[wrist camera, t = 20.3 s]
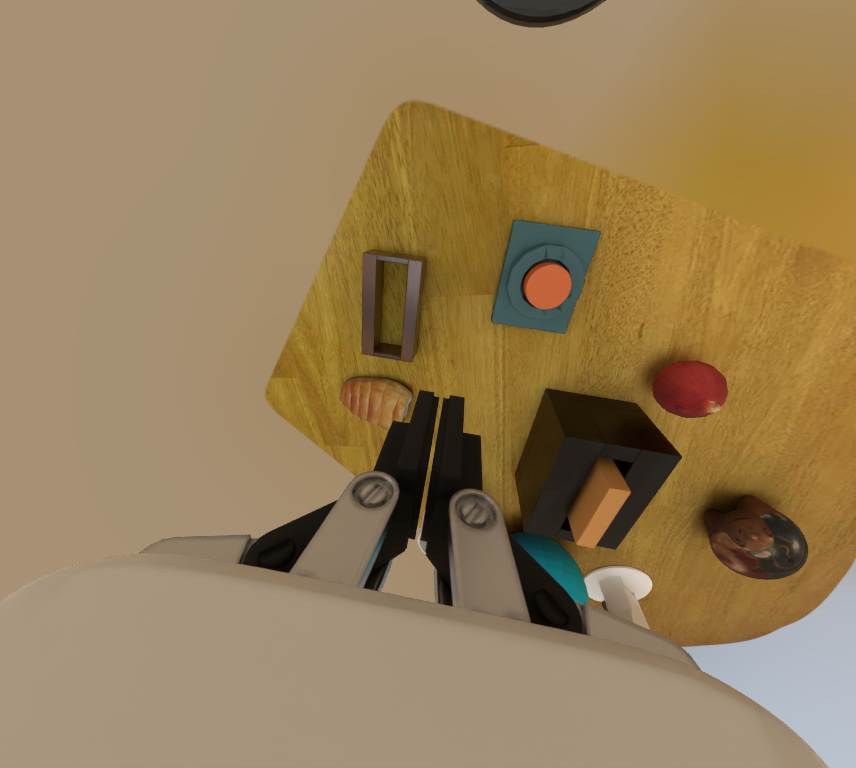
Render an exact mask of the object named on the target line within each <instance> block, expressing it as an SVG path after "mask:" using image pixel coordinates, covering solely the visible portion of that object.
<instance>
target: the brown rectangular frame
mask: <svg viewBox="0 0 856 768" xmlns="http://www.w3.org/2000/svg"><path fill="white" fill-rule="evenodd" d="M426 260H427V258H426V257H420V256H413V255H406V254H399V253H392V252H385V251H378V250H369V251H367V252H364V253H363V287H362V354H364V355H370V356H376V357H382V358H388V359H394V360H401V361H407V362H413V359H414V357H415V355H416V352H417V343H418V334H419V324H420V315H421V306H422V297H423V287H424V278H425V269H426ZM384 261H387V262H394V263H401V264H408V275H407V287H406V300H405V312H404V325H403V337H402V346H396V345H390V344H384V343H380V335H381V312H382V288H383V264H384Z"/></svg>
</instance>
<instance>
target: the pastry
mask: <svg viewBox="0 0 856 768" xmlns="http://www.w3.org/2000/svg"><path fill="white" fill-rule="evenodd" d="M339 399H340V400H341V401H342V403H343V405H345V406H346V407H347V408H348V409H349V410H350V411H351V413H353V414H357V415H358V416H359V417H360V419H362V420H367V421H368V422H369V423H371V424H372V425H376V424H379V425H380V426H381V427H382V428H384V429H388V428H390V426H391V424H392V422H393V421H399V422H404V420H405V416H406V414H407V411H408V404H409V403H410V402H411V400H412V394H411V392H410V391H409V390H408V389H407V388H405V387H404V386H403V385H402V384H400V383H399V382H396V381H392V380H390V379H383V378H369V377H368V378H366V377H362V378H354V379H350V380H348V381H346V382H345V383H344V384H343V386H342V389H341V393H340V395H339Z"/></svg>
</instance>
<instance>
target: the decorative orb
mask: <svg viewBox="0 0 856 768" xmlns="http://www.w3.org/2000/svg"><path fill="white" fill-rule="evenodd" d="M510 535H511V536H512V537H513V538H514V539H515V540H516V541H517V542H518V543H519V544H520V545H521V546H522V547H523V548H524V549H525V550H526V551H527V552H528V553H529V554H530V555H531V556H532V557H533V558H534V559H535V560H536V561H537V562H538V563H539V564H540V565H541V566H542V567H543V568H544V569H545V570H546V571H547V572H548V573H549V574H550V575H551V576H552V577H553V578H554V579H555V580H556V581H557V582H558V583H559V584H560V585H561V586H562V587H563V588H564V589H565V590H566V591H567V592H568V594H569V595H570V596H571V597H572V598H573V600H574V601H575V602H577V603H579V604H581V605H583V604H584V602H587V603H589V599H588V592H587V588H586V584H585V581H584V578H583V576H582V573H581V571H580V568H579V567H578V565H577V563H576V561H575V560H574V559H573V558H572V556H571V555H570V554H569V553H568V552H567V551H566V550H565V549H564V548H563V547H562V546H561V545H560V544H559V543H557V542H555V541H554V540H552V539H550V538H548V537H546V536H542V535H537V534H532V533H526V532H517V533H513V534H510Z"/></svg>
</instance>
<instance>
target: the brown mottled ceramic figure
mask: <svg viewBox="0 0 856 768" xmlns="http://www.w3.org/2000/svg"><path fill="white" fill-rule="evenodd" d="M704 521H705V525H706V528H707V532H708V536H709V541H710V545H711V548H712V550H713V552H714V554H715V555H716V557H717V558H718V559H719V560H720V561H721V562H722V563H723V564H724V565H725V566H727V567H728V568H730V569H731V570H733V571H735V572H737V573H739V574H741V575H744V576H747V577H751V578H756V579H766V580H769V579H780V578H784V577H787V576H790V575H792V574H794V573H795V572H797V571H798V570H799V569H800V568H802V566H803V565H804V564H805V562H806V560H807V556H808V545H807V542H806V539H805V537H804V535H803V533H802V532H801V530H800V529H799V527H798V526H797V525H796V524H795V523H794V522H793V521H791V520H790V519H789V518H787V517H786V516H784V515H783V514H781V513H780V512H778V511H776V510H775V509H773V508H771V507H769V506H768V505H766V504H764V503H763V502H761V501H759V500H757V499H755V498H753V497H750V496H744V497H743V498H742V499H741V500H740V503H739V506H738V508H737V510H734V511H731V512H729V513H722V512H718V511H714V510H708V511H706V512H705V513H704Z"/></svg>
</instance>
